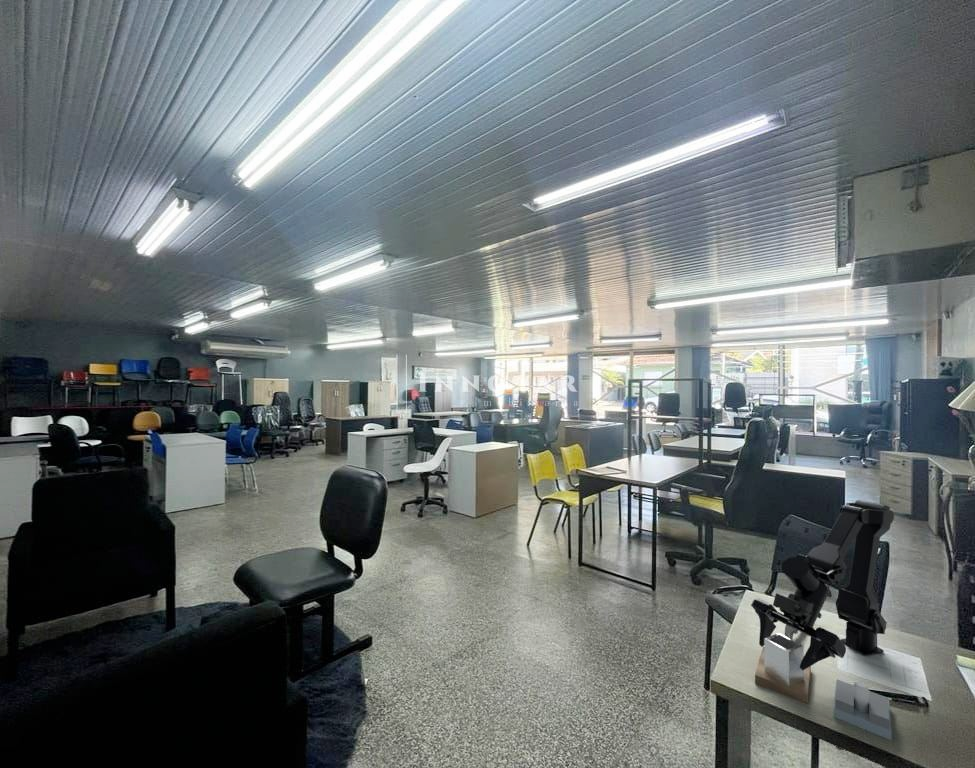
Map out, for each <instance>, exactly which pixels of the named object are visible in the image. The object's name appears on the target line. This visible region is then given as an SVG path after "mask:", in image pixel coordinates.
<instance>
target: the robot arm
mask: <svg viewBox="0 0 975 768" xmlns="http://www.w3.org/2000/svg"><path fill="white" fill-rule="evenodd" d="M894 518H895V513H894V512H893V510H891V509H890V507H889V506H888V505H886V504H882V503H877V502H871V501H867V500H862V499H857V500H856V501H855V502H846V503H845V504H844V505H842V506H841V507H840V509H839V516H838V517H837V518H836V520H835V522H834V524H833V526H832V528H831V529H830V531H829V533H828V534H827V536H826V538H825V539H824V541H823V542H822V544H820V545H818V546H815V547H812V549H811V550H810V551H809V552H808V553H807V555H803V554H800V553H797V555H796V556H795V557H794V556H792V557H788V558H787V559H785V560H784V561H782V563H781V571H782V573H783V574H784V575H785V577H786V578H787V579H788V580H789V582H790V583H791V584H792V585H793V586H794V588H796V589H795V590H794V593H789V594H788V595H787V596H784V595H782V594H780V593H778V592H776V593H775V594H774V595H775V596H774V600H773V603H772V604H771V603H769V602H768V601H765V600H763V599H761V598H755V599H754V600H752V603H751V604H750V606H751V607H752V609H753V610H754V612H755V613H756V615H757V616H758V618H759V619H758V620H759V641H758V642H759V643H758V644H759V646H760V647H762V648H763V647H764V639H765V638H767V637H770V636H772V635H773V632H774V631H775V629H776V628H777V625H776V624H775V623H778V622H780V623H782V624H785V626H786V625H788V626H790V627H792V628H794V629H796V630H798V632H799V633H802V634H804V635H807V636H809V637H810V642H809V647H808V648H807V650H806V653H804V657H803V659H802V661H801V664H800V668H801V669H802V670H805V669H806V668H808V667H810V666H811V667H812V666H813V665H815V664H816V663H818V662H820V661H822V660H824V659H827V658H829V657H831V658H833V659H835V658H836V656H837V657H839V658H840V659H844V657H845V655H846V653H847V648H846V646H848V647H850V648H851V649H853V650H855V651H857V652H858V653H860V654H862V655H863V656H872V655H876V654H882V653H884V649H882V648H881V647H879V646H878V635H879V634H880V635H885V634H886V629H887V621H886V620H885V618H884V616H882V614H881V612H880V611H879V610H880V602H879V601H878V599H877V597H876V596H875V594H874V582H875V575H876V570H877V561H878V555H879V547H880V540H881V537H882V536H884V535H885V534H886V533H887V532H889V531H890V529H891V524H892V523H893V522H894ZM853 543H854V547H853V555H852V560H851V568H850V574H849V581H848V584H847V585H846V586H844V587H843V588H839V590H838V593H837V598H836V600H835V609H836V612H837V616H838V619H840V620H843V621H845V622H846V624H845V625H846V626H845V627H846V628H845V638H841V639H840V637H839V636H838V635H837V634H835V633H833V632H831V631H829V630H827V629H825V628H823V627H821V626H819V627H816V628H814V625H815V623H816V621H817V619H821V618H822V613H821V611H822V608H823V606H824V604H825V601H826V600H827V598H832V594H833V593H832V592H831V591H832V590H831V589H830V586H829V584H826V583H825V582H824V581H826V582H829V583H831V584H840V583H841V582H842V581H844V579H845V577H846V571H847V564H846V561H845V558H846V556H847V554H848V552H849V550H850V548H851V547H852V545H853ZM776 608H779V609H778V610H779V611H780V612H778V610H776ZM788 621H789V622H788ZM790 622H791V623H790ZM792 623H793V624H792ZM800 627H801V628H800Z"/></svg>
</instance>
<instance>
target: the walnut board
mask: <svg viewBox="0 0 975 768" xmlns="http://www.w3.org/2000/svg"><path fill="white" fill-rule="evenodd" d="M811 669H812V665H811V666H810V667H808V668H806V669H805V670H804V680H802V681H800V682H798V683H796V684H794V685H792V686H790V687H789V686H787V685H785V684H784V683H782V682H781V681H779V680H777V679H776V678H774V677H773V676H771V675H769V674H768V673H766V672H765V670H764V646H763V647H762V650H761V653H760V657H759V660H758V663H757V666H756V671H755V674H754V684H756V685H759V686H760V687H764V688H766V689H769V690H770V691H774V692H776V693H779V694H782V695H784V696H786V697H789V698H791V699H794V700H797V701H800V702H803V703H805V704H808V703H809V701H808V700H809V692H810V681H811V671H812V670H811Z"/></svg>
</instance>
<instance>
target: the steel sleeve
mask: <svg viewBox="0 0 975 768" xmlns="http://www.w3.org/2000/svg"><path fill="white" fill-rule="evenodd" d="M763 647H764V670H765V672H766V673H768V674H769V675H771V676H773V677H774V678H776V679H777V680H779V681H781V682H782V683H784V684H785V685H787V686H789V687H790V686H792V685H794V684H796V683H798V682H800V681H802V680H804V670H802V669H801V668H800V664H801V661H802V659H803V657H804V656H805V653H804V651H805V649H804V647H805V646H804V645H803V644H801V643H799V642H798V641H795V640H794V639H793V640H791V639H790V638H788V637H786V636H785V634H782V633H780V632H778V633H775V634H771V636H770V637H767V638H765V639H764V646H763Z"/></svg>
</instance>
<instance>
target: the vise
mask: <svg viewBox="0 0 975 768" xmlns="http://www.w3.org/2000/svg"><path fill="white" fill-rule="evenodd" d="M834 686H835V687H834V696H833V698H834V699H833V709H832V710H833V718H835V719H838V720H840V721H843V722H845V723H847V724H850V725H853V726H855V727H858V728H860V729H862V730H865V731H868V732H870V733H872V734H875V735H877V736H880V737H881V738H884V739H887V740H889V741H893V739H892V737H893V736H892V735H893V734H892V733H893V732H892V719H891V706H890V699H889V698H888V696H884V695H882V694H878V693H876V692H874V691H871V690H870V687H869V686H868V685H867V684H865V683H863V682H860V681H854V682H853V684H851V683H849V682H846V681H843V680H840V679H836V680H835V685H834Z"/></svg>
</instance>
